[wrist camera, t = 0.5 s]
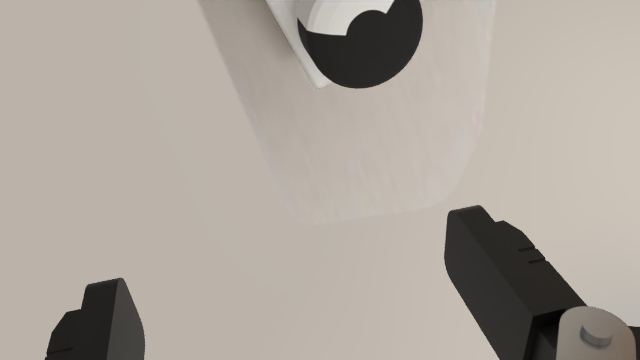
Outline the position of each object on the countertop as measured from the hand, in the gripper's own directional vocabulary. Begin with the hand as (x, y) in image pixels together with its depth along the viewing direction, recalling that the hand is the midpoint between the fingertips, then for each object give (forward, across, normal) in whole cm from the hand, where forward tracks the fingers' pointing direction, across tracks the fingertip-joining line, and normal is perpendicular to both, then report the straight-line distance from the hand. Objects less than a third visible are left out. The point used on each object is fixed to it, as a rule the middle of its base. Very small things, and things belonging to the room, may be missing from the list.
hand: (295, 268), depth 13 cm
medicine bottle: (+26, -6, 0) cm, 27 cm away
